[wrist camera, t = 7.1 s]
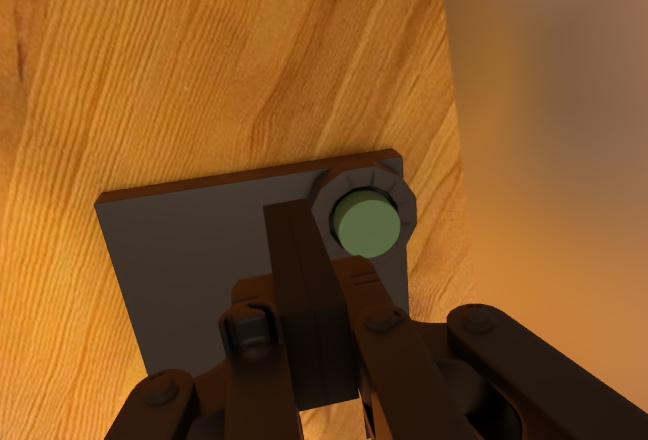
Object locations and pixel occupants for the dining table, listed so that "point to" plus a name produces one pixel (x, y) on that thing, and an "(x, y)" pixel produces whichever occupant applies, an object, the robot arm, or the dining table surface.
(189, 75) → the dining table surface
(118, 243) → the scale
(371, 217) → the button
